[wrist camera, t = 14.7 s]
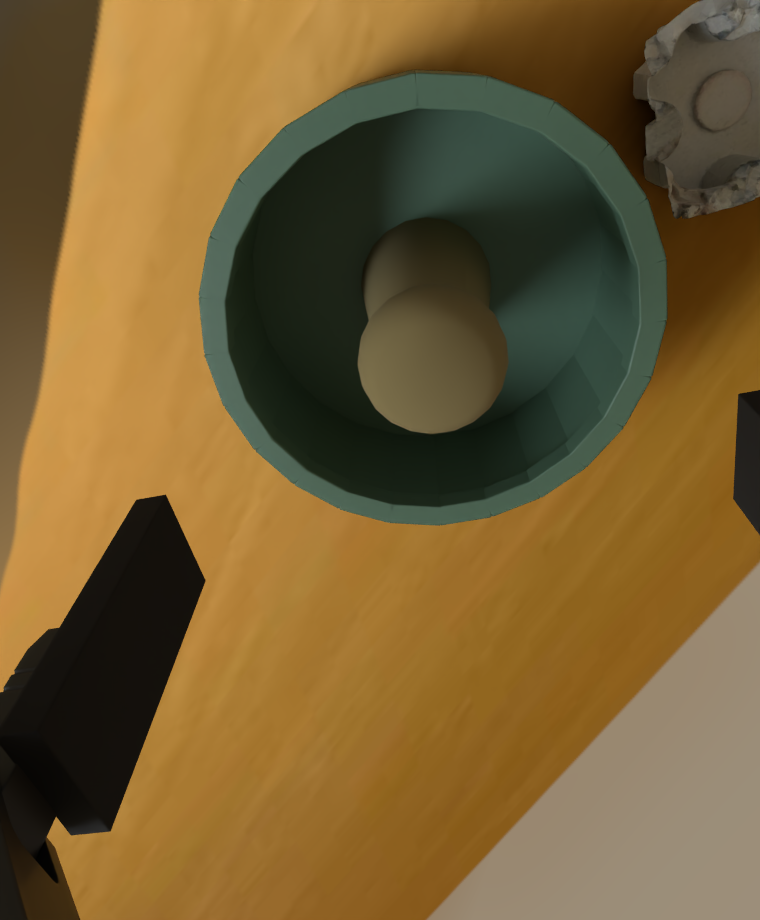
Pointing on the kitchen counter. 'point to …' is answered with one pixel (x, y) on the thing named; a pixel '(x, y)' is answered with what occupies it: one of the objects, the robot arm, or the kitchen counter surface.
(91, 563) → the kitchen counter surface
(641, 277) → the green round bowl
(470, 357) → the cork
